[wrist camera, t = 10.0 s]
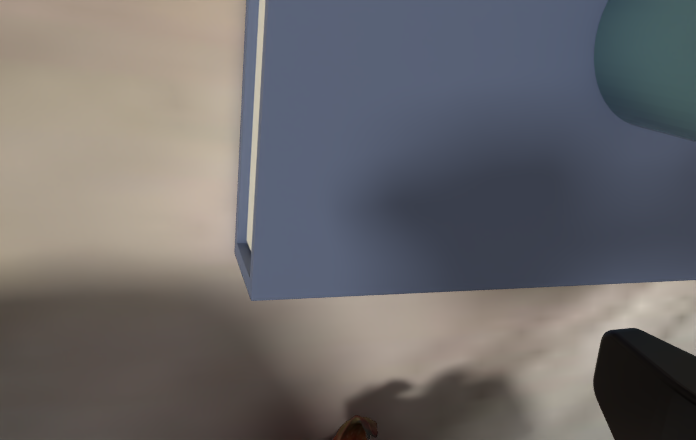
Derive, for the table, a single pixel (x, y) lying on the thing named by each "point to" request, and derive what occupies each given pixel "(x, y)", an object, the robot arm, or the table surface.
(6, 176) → the table surface
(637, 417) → the robot arm
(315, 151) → the book
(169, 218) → the table surface
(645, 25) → the teal smooth upright cylinder
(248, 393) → the table surface
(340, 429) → the dragon fruit
